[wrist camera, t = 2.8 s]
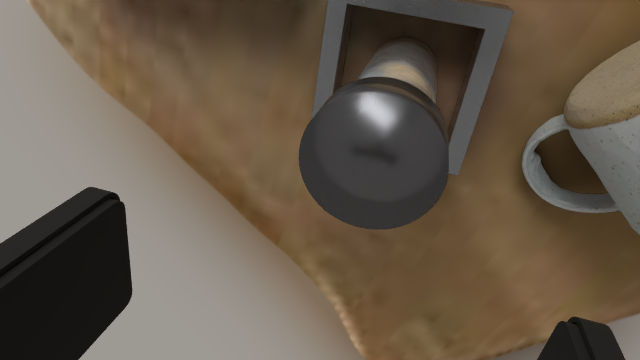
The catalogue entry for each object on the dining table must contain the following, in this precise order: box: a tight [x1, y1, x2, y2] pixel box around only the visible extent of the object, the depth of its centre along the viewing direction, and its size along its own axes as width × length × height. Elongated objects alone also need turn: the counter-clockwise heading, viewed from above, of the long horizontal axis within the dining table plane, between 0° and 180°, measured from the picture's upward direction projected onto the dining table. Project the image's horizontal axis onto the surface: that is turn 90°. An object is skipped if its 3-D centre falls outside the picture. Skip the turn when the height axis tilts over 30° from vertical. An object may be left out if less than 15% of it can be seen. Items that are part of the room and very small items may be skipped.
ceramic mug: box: [522, 40, 640, 235], centre depth 21 cm, size 11×8×8 cm
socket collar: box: [312, 0, 514, 175], centre depth 25 cm, size 9×9×2 cm
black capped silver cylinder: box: [299, 38, 449, 229], centre depth 20 cm, size 5×5×13 cm
